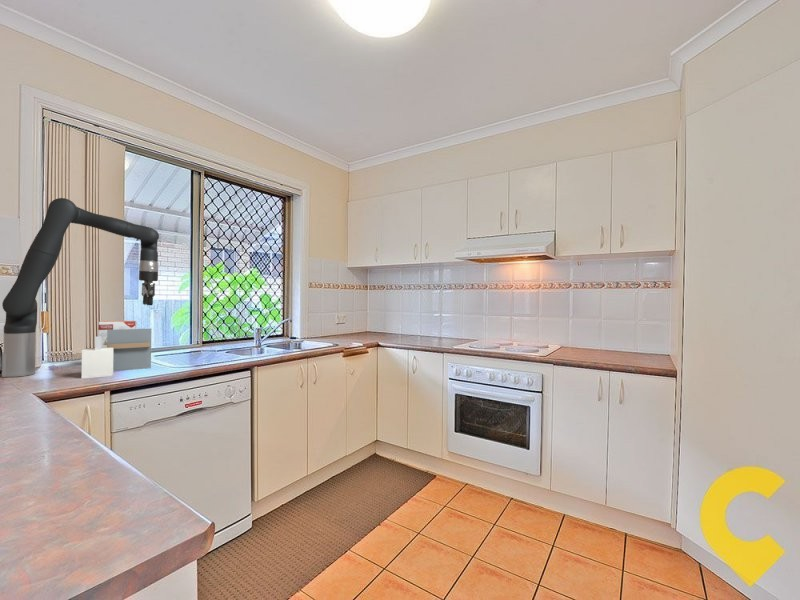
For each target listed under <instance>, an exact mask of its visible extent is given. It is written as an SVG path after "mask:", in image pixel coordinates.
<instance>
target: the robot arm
mask: <svg viewBox="0 0 800 600" xmlns="http://www.w3.org/2000/svg"><path fill="white" fill-rule="evenodd" d="M42 223H43V224H42V226H41V227H40V229H39V231H38V232H37V233H36V236H35V238H34V239H33V240H32V242H31V244H30V246H29V248H28V250H27V253H26V255H25V257H24V259H23V261H22V264H21V266H20V269H19V272H18V275H17V277H16V280H15V281H14V284H12V287H11V288H10V290H9V291H8V293H7V295H6V296H5V297H4V299H3V301H2V309H3V311H4V312H5V323H4V325H3V352H2V353H1V378H13V377H14V378H15V377H23V376H24V377H26V376H31V375H32V376H33V375H35V374H36V353H37V351H36V347H37V346H36V339H37V338H36V335H37V334H36V333H37V324H38V302H37V300H36V299H37V298H36V297H37V296H38V292H39V290H40V287H41V285H42V284H43V283H44V282H45V280H46V279H47V277H49V276H48V275H50V273H51V272H52V271H53V268H54V267H55V265H56V264H57V260H58V259H59V256H60V253H61V250H62V248H63V247H62V246H63V243H64V242H63V241H64V238H65V237H64V236H65V234H66V231H67V229H69V226H70V224H76V225H83V226H87V227H92V228H95V229H98V230H101V231H104V232H107V233H111V234H114V235H118V236H120V237H125V238H129V239H136V240H139V241H140V253H139V254H140V256H139V266H138V280H139V281H141V282H142V281H144V282H142V284H141V296H142V305H144V306H153V304H154V296H155V295H156V293H155V291H156V283H155V282H157V281H158V280H159V263H158V262H159V252H158V240H159V239H160V234H159V232H158V231H157V230H156V229H154V228H152V227H149V226H144V225H142V224H141V225H140V224H136V223H132V222H130V221H126V220H124V219H120V218H117V217H114V216H113V217H112V216H108V215H104V214H98V213H95V212H90V211H88V210H85V209H83V208H80V207H79V206H77V205H76V204H75V203H74V202H73V201H72V200H70V199H68V198H65V197H64V198H63V197H59V198H55V199H53V200H52V201H50V203H48V207H47V210H46V214H45V217H44V221H43V222H42ZM158 282H159V281H158Z"/></svg>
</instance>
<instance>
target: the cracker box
mask: <svg viewBox="0 0 800 600" xmlns="http://www.w3.org/2000/svg"><path fill="white" fill-rule="evenodd" d="M119 329H137V320H100V321H98V330H97V331H98V332H97V337H100V336H101V348H106V347H107V330H119Z"/></svg>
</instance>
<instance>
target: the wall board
mask: <svg viewBox="0 0 800 600" xmlns="http://www.w3.org/2000/svg"><path fill="white" fill-rule="evenodd" d="M107 347H112V348H113V372H119V371H129V370H131V371H132V370H140V369H141V370H143V368H145V369H151V368H152V328H136V329H119V330H107Z"/></svg>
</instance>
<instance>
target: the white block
mask: <svg viewBox="0 0 800 600" xmlns="http://www.w3.org/2000/svg"><path fill="white" fill-rule="evenodd" d="M112 376H114V371H113V348H112V347H106V348H101V336H100V337H98V336H94V347H93V348H92V347H89V348H87V347H86V348H82V350H81V379H91V378H92V379H93V378H100V377H101V378H102V377H103V378H104V377H112Z"/></svg>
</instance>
